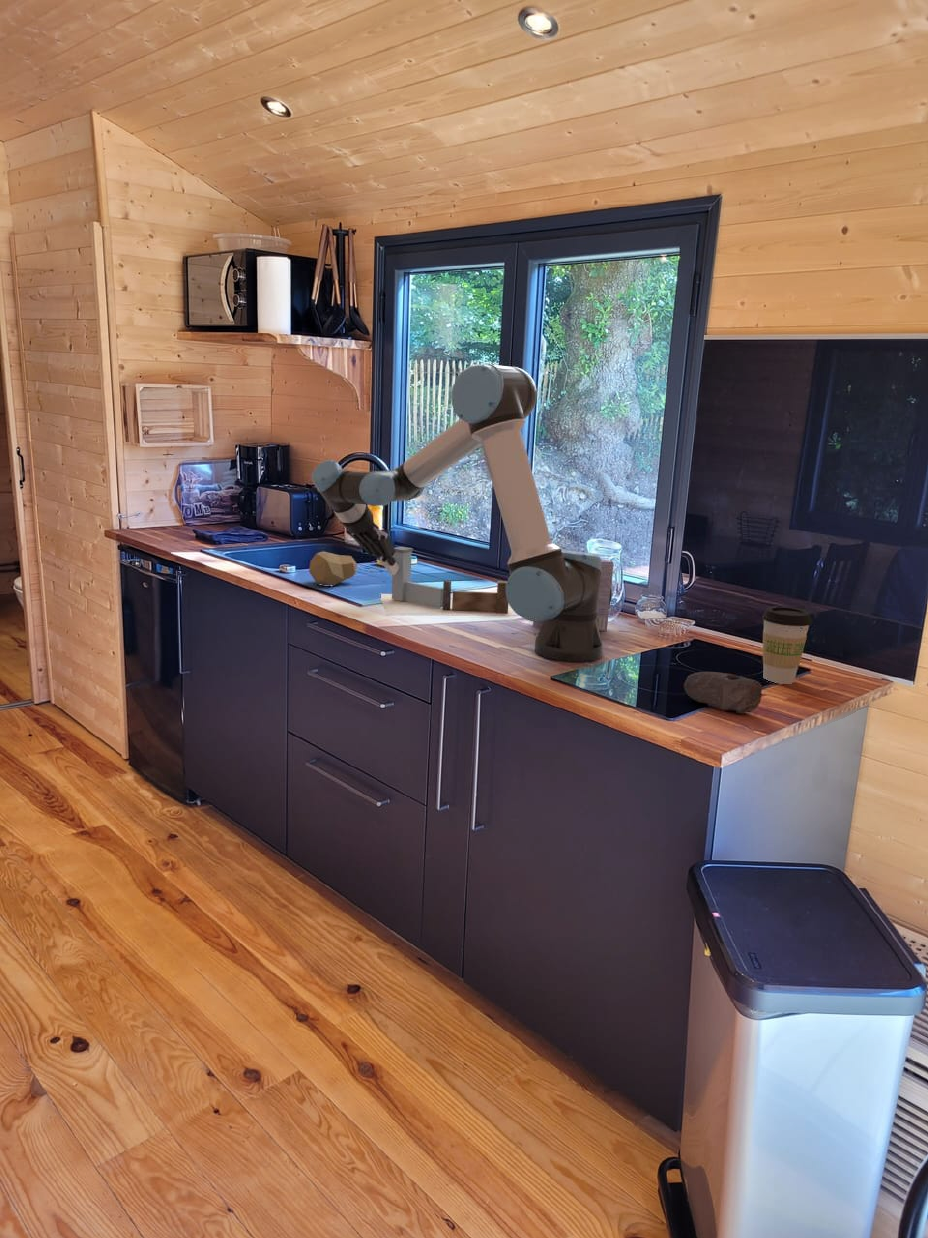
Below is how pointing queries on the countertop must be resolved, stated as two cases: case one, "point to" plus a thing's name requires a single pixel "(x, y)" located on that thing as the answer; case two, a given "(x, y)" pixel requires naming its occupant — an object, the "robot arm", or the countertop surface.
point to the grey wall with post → (408, 589)
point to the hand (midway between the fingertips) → (394, 570)
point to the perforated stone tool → (724, 691)
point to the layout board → (429, 608)
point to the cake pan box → (600, 596)
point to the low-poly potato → (332, 568)
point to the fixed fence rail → (476, 599)
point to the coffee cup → (783, 642)
